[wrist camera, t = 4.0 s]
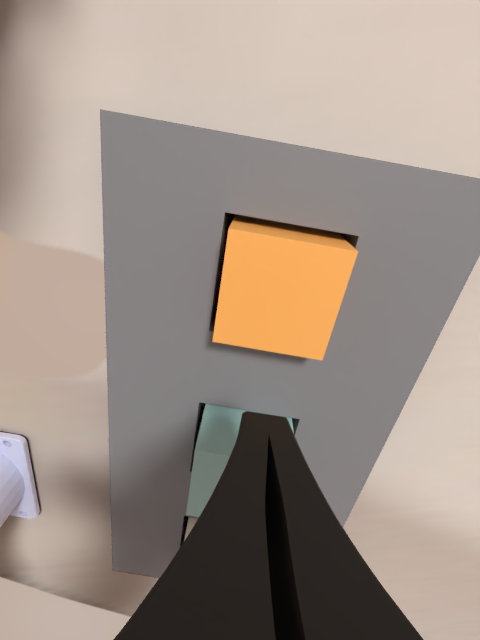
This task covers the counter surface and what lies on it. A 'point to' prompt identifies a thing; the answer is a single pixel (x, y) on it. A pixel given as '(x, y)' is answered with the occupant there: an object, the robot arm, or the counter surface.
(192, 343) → the button panel
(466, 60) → the counter surface
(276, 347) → the orange button
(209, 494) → the teal button
